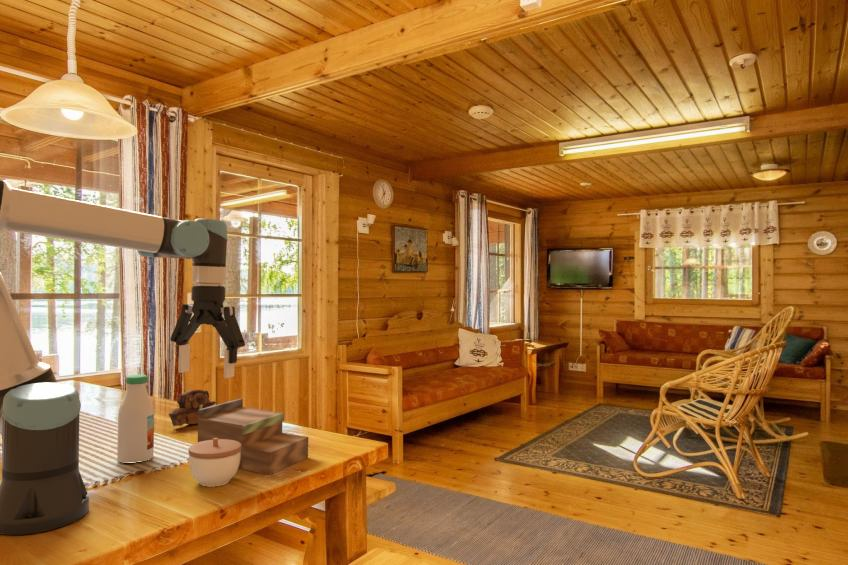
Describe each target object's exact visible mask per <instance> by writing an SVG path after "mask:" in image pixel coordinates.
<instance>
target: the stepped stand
mask: <svg viewBox="0 0 848 565" xmlns="http://www.w3.org/2000/svg"><path fill="white" fill-rule="evenodd" d="M243 402H244V400H243V398H237V399H233V400H229V401H225V402H222V403H218V404H214V405H212V406H210V407H206V408H202V409H198V423H197V443H198V442H202V441H206V440H213V438H218V439H229V440H235V441H238V442H240V443H241V445H242V446H241V458H240V464H239V468H238V469H241V470H246V471H250V472H255V473H261V474H264V473H266V474H265V475H269V474H271V475H272V473H273V474H275V473H277V472H279V471H281V470H284V469H286V468H288V467H290V466H293V465H294V464H297V463H299V462H301V461H303V460H305V459H308V457H309V436H305V435H298V434H294V433H293V434H292V433H286V432H283V422H284V421H285V412H280V411H272V410H267V409H261V408H253V407H247V406H243V404H244V403H243Z"/></svg>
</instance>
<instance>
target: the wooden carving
mask: <svg viewBox="0 0 848 565" xmlns="http://www.w3.org/2000/svg"><path fill="white" fill-rule="evenodd" d="M176 402H177V404H178V407H177V408H173V409H172V410H171V411H170V412H169V413H168V417H169V419H170V420H171V423H172V426H173V427H181V426H183V425H196V424H197V425H198V409H202V408H206V407H210V406H214V405H216V401H215V400H212V401H210V394H209V391H208V390H203V389H189V390H186V391H185V392H183V393H182V394H179V395H178V397H177V399H176Z"/></svg>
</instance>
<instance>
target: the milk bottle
mask: <svg viewBox="0 0 848 565" xmlns="http://www.w3.org/2000/svg"><path fill="white" fill-rule="evenodd" d="M148 378H149V377H148V375H146V374H130V375H127V376H126V377H125V387H126V392H125V394H124V397H123V399H122V401H121V403H120V405H119V408H118V414H117V415H118V416H117V446H116V448H117V449H116V450H117V454H116V456H117V461H118V462H119V461H121V462H137V461H144V460H148V459H150V458H152V459H153V457H154V450H155V449H154V445H155V443H154V442H155V411H154V410H155V409H154V404H153V402H152V399H151V398H150V395H149V393H148V389H147V385H148ZM150 460H151V459H150ZM148 461H149V460H148Z"/></svg>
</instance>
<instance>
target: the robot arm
mask: <svg viewBox="0 0 848 565" xmlns="http://www.w3.org/2000/svg"><path fill="white" fill-rule="evenodd" d="M5 231H7V232H15V233H21V234H25V235H26V234H27V235H33V236H41V237H47V238H53V239H61V240H67V241H73V242H74V241H75V242H78V243H79V242H80V243H87V244H93V245H101V246H106V247H113V248H121V249H128V250H133V251H137V254H138V255H139V256H141V257H146V258H147V257H148V258H153V259H156V258H159V259H161V258H162V259H163V258H166V259H185V260H187V259H188V260H190V259H191V260H192V263H191V264H192V269H191V270H192V271H191V283H192V284H193V285H192V287H191V293H190V294H191V301H192V302H193V303H183V304H182V305H181V312H180V315H179V317H178V320H177V323H176V325H175V326H174V328H173V331H172V334H171V336H170V337H169V338H170V341H171V342H174V343H176V345H177V347H176V348H177V349H176V350H177V353H176V356H177V358H178V368H177V369H178V371H177V372H178V373H179V374H180V373H181V374H183V373H186V372H190V358H191V356H190V355H191V349H190V348H191V344H190V343H189V341H190V340H191V338H193V336H194V334H195V333H196V331H197V330H198V329H199V328H200V327H201V325H209V326H212V327H213V328H215V330H216V332H217V333H218V335H219V336H220V339H222V341H223V343H224V345H225V346H226V348H225V349H224V350H223V351H224V353H223V354H224V356H223V358H224V359H223V378H224V379H229V378H234V377H235V364H237V362H238V350H239V349H240V348H242V347H245V345H246V342H245V339H244V337H243V333H242V331H241V328H240V326H239V324H238V319H237V317H236V310H235V309H236V308H235V307H234V306H232V305H231V306H224V302H225V300H226V287H225V286H224V285H225V284H226V277H227V276H226V274H227V250H228V241H229V240H228V226H227V223H226V221H224V220H220V219H213V218H196V219H194V220H190V219H184V220H180V219H177V218H171V217H163V216H160V215H154V214H149V213H144V212H139V211H134V210H131V209H130V210H128V209H123V208H119V207H113V206H108V205H104V204H97V203H92V202H88V201H84V200H82V201H81V200H77V199H72V198H66V197H61V196H56V195H52V194H46V193H41V192H35V191H30V190H25V189H21V188H20V189H19V188H16V187H15V188H14V187H12V186H11V185H10V184H9V183H8V182H7V180H4V179H0V233H2V232H5ZM15 305H16V304H15V302H14V300H13V298H12V296H11V293H10V291H9V289H8V286H7V284H6V282H5V279H4V277H3V274H2V272H1V271H0V435H1V440H2V441H1V445H2V446H1V482H0V535H6V536H7V535H8V536H17V535H18V536H20V535H21V536H23V535H30V534H33V535H34V534H37V533H38V534H39V533H44V532H48V531H51V530H56V529H59V528H62V527H65V526H68V525H70V524H73V523H75V522H77V521H78V520H80V519H82V518H83V517H85V516H86V515H87V514H88V512H89V510H90V496H89V494H88V490H87V488H86V485H85V483H84V479H83V477H82V474H81V472H80V469H79V468H80V467H79V466H80V465H79V464H80V461H79V460H80V456H79V455H80V412H81V408H82V405H81V400H80V393H79V391H78V389H76V387H74V386H72V385H70V384H68V383H67V384H66V383H64V384H63V383H61V382H58V381H57V378H56V376H55V374H54V372H53V370H52V367H51V365H50V364H48V363H45V362H42V361H40V360H39V359H38V357H37V354H36V351H35V350H34V348H33V345H32V343H31V341H30V338H29V336H28V334H27V330H26V329H25V328H26V327H24V324H23V322H22V319H21V317H20V314H19V312H18V310H17V308H16V306H15Z"/></svg>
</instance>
